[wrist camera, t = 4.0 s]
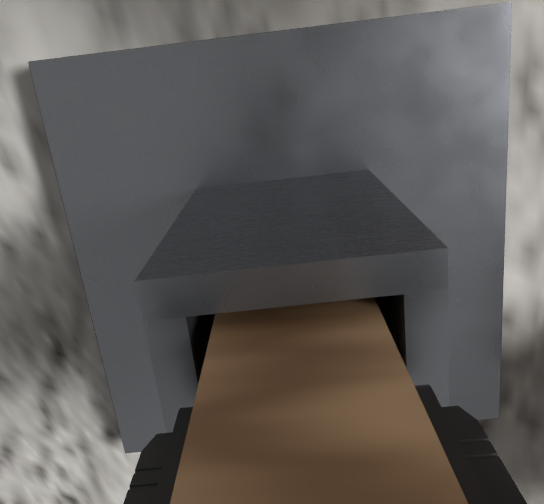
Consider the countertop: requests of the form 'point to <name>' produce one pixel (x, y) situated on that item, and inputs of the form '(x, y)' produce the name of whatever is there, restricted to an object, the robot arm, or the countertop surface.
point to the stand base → (289, 194)
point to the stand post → (310, 414)
